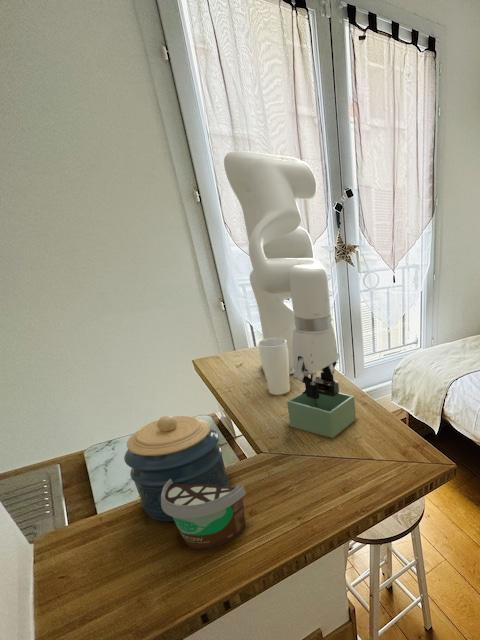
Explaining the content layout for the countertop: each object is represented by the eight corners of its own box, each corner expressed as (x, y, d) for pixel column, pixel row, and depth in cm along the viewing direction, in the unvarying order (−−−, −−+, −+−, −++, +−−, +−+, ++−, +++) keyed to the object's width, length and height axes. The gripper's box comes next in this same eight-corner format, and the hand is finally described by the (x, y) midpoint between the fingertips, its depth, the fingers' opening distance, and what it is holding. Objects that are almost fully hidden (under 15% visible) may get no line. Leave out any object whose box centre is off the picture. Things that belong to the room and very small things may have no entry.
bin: (316, 408, 106) (313, 385, 102) (355, 419, 103) (354, 396, 100) (290, 426, 97) (286, 401, 94) (332, 438, 95) (330, 413, 92)
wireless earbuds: (314, 387, 99) (313, 375, 98) (340, 392, 98) (339, 381, 97) (302, 395, 95) (300, 383, 94) (329, 401, 94) (327, 389, 92)
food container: (154, 552, 63) (136, 505, 59) (181, 522, 69) (166, 478, 65) (233, 557, 64) (220, 511, 60) (254, 527, 70) (244, 483, 65)
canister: (233, 506, 73) (214, 426, 66) (142, 534, 66) (108, 448, 58) (227, 466, 82) (209, 393, 75) (146, 487, 75) (117, 408, 68)
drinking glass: (298, 387, 115) (291, 339, 108) (284, 398, 109) (276, 348, 102) (275, 384, 115) (268, 336, 109) (260, 395, 109) (251, 344, 102)
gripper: (324, 309, 97) (330, 376, 105) (269, 329, 82) (281, 404, 90) (351, 315, 95) (355, 382, 103) (299, 336, 80) (309, 412, 88)
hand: (320, 392), depth 96 cm, fingers closed on wireless earbuds, 4 cm apart
